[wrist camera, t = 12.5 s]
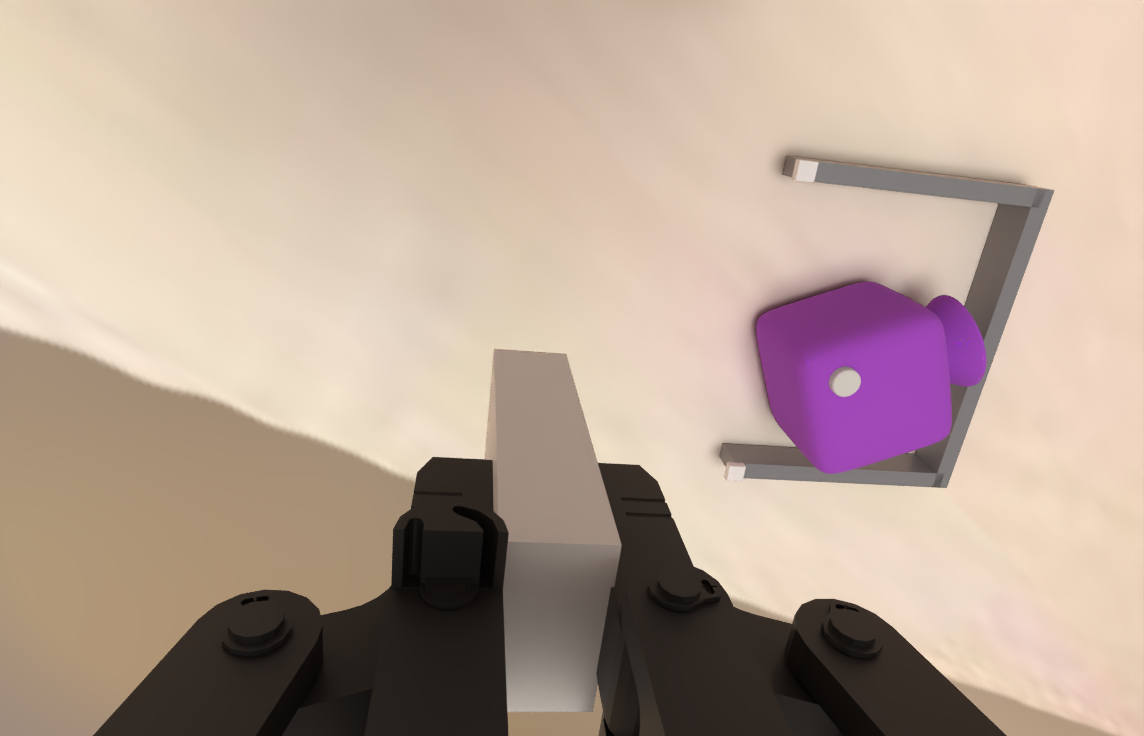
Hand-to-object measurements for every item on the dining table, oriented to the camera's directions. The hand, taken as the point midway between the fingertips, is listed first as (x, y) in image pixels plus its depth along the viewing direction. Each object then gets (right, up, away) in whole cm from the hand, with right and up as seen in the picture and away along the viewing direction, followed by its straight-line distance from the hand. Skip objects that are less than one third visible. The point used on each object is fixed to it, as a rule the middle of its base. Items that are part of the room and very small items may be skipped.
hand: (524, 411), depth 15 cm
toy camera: (+21, +3, +37) cm, 42 cm away
